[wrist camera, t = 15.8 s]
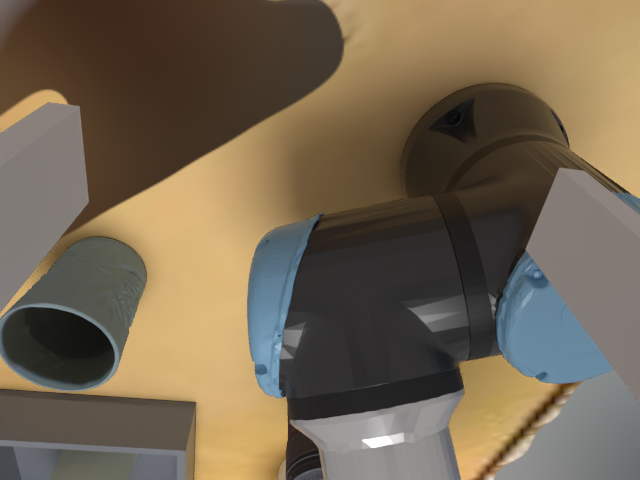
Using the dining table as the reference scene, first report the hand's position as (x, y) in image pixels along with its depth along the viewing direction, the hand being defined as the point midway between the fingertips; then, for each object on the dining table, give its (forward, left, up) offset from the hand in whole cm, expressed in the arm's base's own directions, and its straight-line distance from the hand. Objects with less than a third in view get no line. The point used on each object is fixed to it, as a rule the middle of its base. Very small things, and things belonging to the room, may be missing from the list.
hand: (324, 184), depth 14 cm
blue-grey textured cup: (+18, +27, -32) cm, 46 cm away
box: (+20, +55, -32) cm, 67 cm away
